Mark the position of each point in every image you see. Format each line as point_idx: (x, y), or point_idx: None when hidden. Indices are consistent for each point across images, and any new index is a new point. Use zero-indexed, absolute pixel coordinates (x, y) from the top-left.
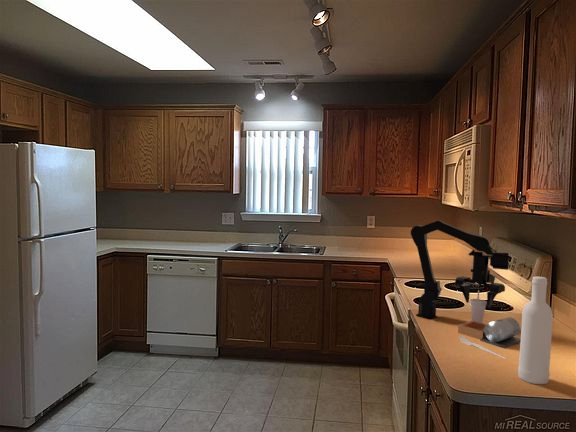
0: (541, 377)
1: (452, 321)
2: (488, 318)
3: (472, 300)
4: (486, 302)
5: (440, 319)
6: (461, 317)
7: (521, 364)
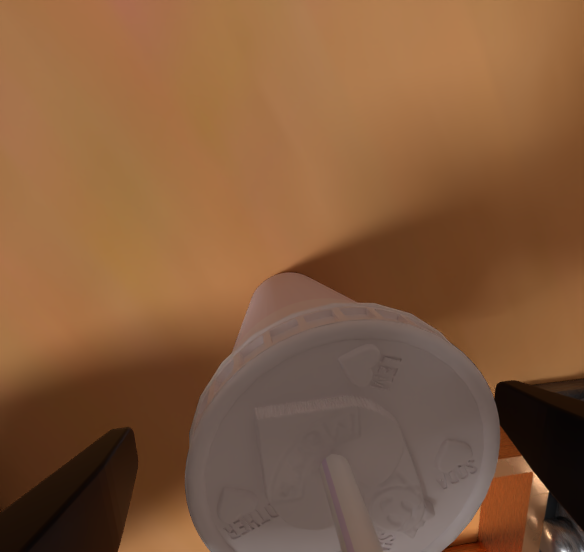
0: None
1: (135, 435)
2: (226, 10)
3: (265, 547)
4: (498, 420)
5: None
6: (69, 256)
7: None
